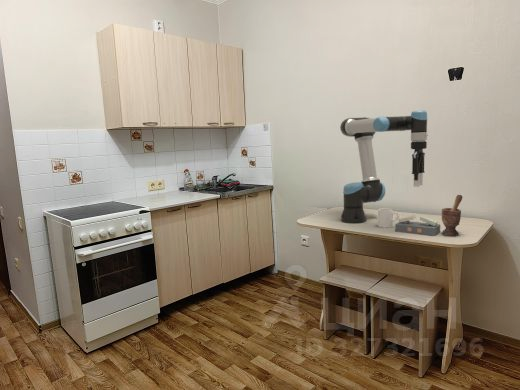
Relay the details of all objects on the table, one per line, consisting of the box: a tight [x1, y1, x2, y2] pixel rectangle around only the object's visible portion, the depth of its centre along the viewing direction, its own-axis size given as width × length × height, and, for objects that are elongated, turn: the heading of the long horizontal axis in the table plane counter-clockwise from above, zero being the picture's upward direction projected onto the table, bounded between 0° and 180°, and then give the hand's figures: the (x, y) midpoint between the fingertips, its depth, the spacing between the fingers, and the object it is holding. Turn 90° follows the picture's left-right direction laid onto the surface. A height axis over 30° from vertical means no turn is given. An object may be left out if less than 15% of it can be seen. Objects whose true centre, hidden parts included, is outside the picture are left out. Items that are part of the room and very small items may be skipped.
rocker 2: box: [419, 215, 439, 226], centre depth 191 cm, size 8×4×2 cm, turn 51°
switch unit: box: [394, 220, 441, 237], centre depth 195 cm, size 20×10×5 cm, turn 50°
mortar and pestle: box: [441, 194, 463, 237], centre depth 186 cm, size 12×9×20 cm
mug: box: [377, 207, 400, 229], centre depth 208 cm, size 8×12×10 cm
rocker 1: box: [397, 214, 417, 222], centre depth 198 cm, size 8×4×2 cm, turn 50°
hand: (418, 185), depth 192 cm, fingers open, 5 cm apart
